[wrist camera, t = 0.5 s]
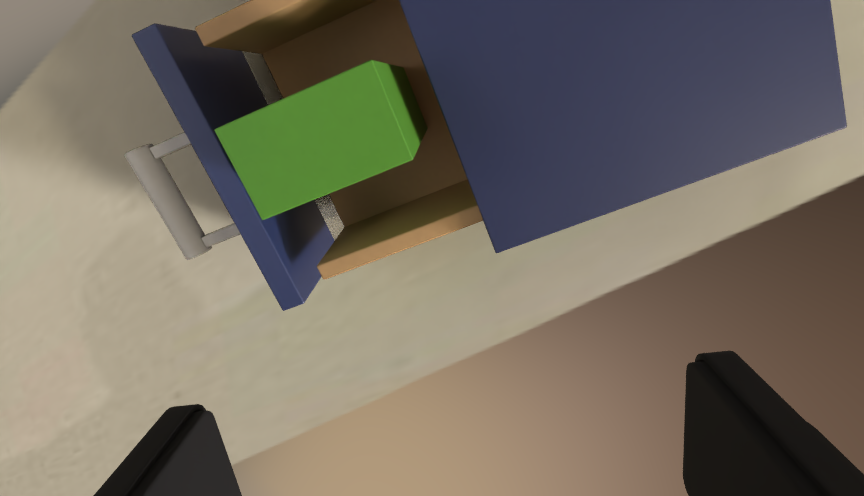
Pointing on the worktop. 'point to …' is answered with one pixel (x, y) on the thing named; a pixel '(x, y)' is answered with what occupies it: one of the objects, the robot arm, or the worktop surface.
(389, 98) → the green rectangular box
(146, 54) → the drawer
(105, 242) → the worktop surface
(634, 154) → the cabinet
